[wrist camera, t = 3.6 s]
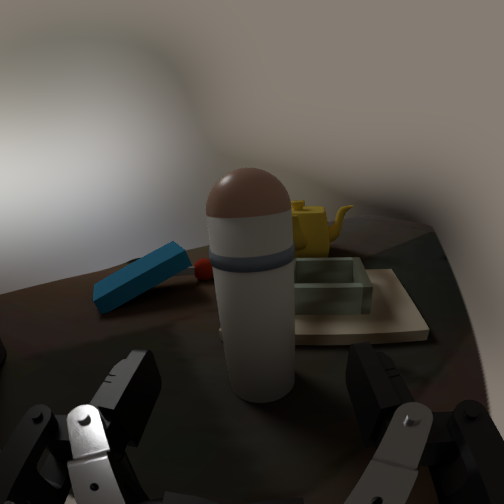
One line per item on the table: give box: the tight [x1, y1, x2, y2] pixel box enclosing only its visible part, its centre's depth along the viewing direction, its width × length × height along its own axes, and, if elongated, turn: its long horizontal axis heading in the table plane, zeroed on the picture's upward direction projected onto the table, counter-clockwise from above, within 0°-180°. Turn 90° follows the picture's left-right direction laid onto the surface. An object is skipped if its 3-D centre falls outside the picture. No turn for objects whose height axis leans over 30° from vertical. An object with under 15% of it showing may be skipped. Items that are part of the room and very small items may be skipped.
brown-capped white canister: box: [206, 168, 295, 403], centre depth 18 cm, size 5×5×16 cm
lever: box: [93, 241, 214, 314], centre depth 39 cm, size 7×7×18 cm
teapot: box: [291, 200, 353, 258], centre depth 49 cm, size 15×14×10 cm
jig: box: [219, 257, 430, 345], centre depth 30 cm, size 20×16×4 cm
